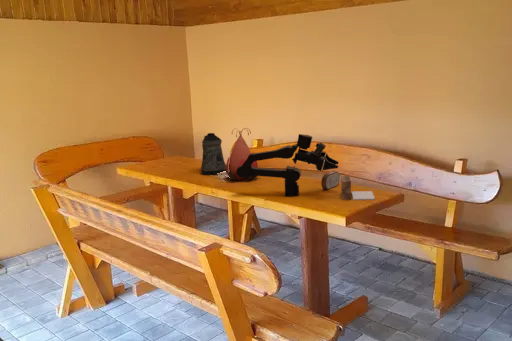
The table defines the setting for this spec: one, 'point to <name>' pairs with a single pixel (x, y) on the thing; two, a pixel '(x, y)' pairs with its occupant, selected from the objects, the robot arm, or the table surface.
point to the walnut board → (346, 187)
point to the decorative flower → (239, 159)
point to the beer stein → (212, 155)
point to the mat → (362, 195)
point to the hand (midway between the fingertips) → (338, 165)
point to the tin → (330, 180)
